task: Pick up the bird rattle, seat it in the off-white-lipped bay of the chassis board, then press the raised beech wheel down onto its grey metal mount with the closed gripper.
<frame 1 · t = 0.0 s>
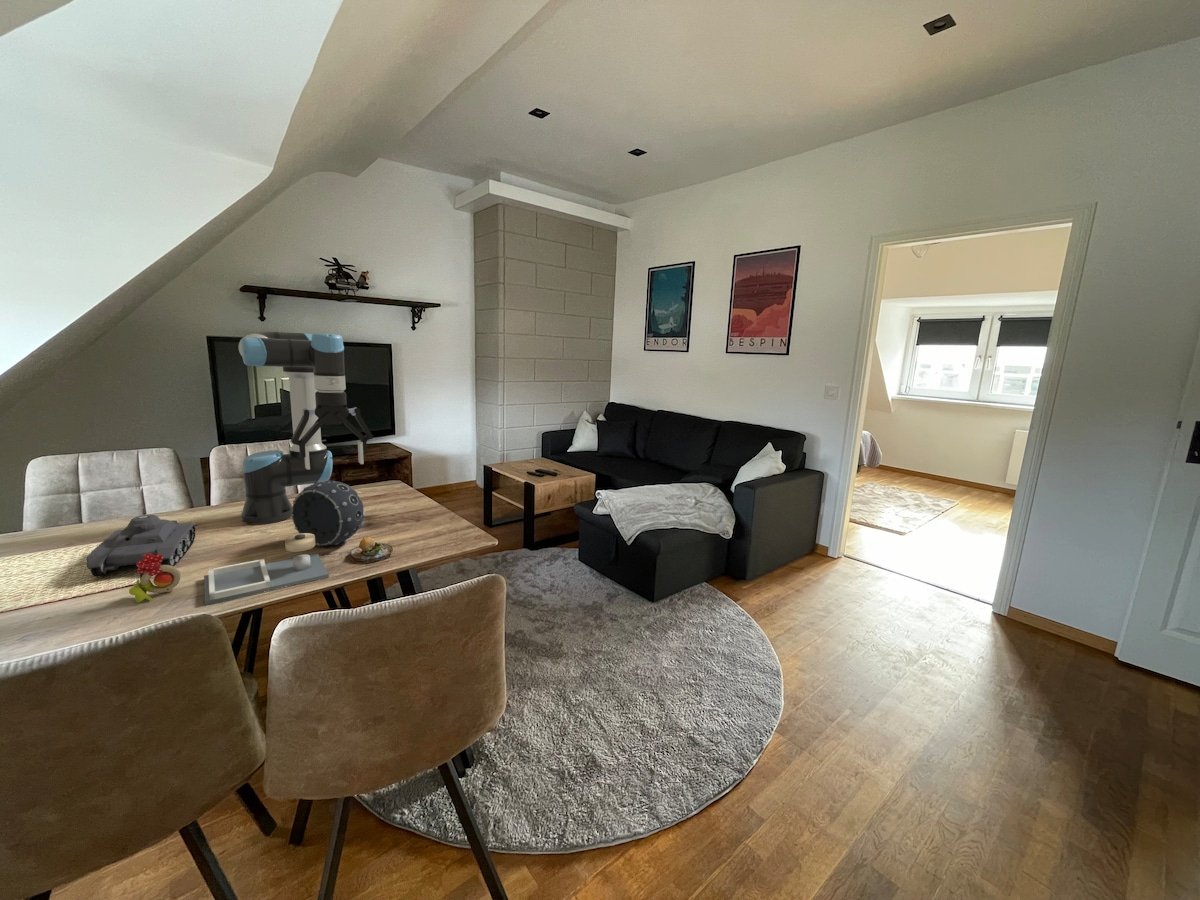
hand: (335, 465, 136), 28 cm above the table, fingers open, 13 cm apart
wheel: (300, 541, 131), point 9 cm above the table, slide at 3.0 cm
burger: (371, 556, 145), on the table
chassis board: (267, 578, 128), on the table
dotted grey bowl: (330, 543, 152), on the table
toy tank: (149, 560, 135), on the table
bird rattle: (157, 596, 117), on the table
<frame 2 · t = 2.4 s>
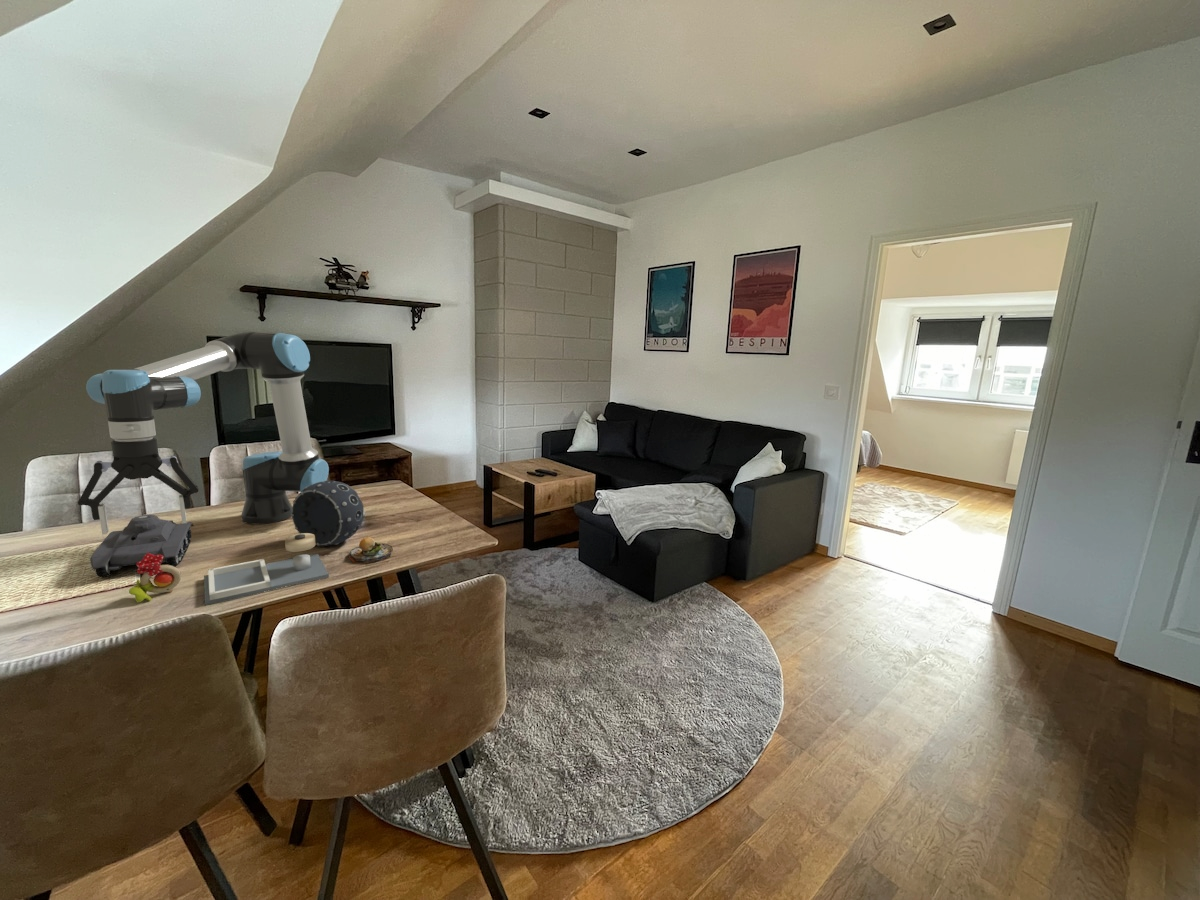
hand: (146, 527, 113), 18 cm above the table, fingers open, 13 cm apart
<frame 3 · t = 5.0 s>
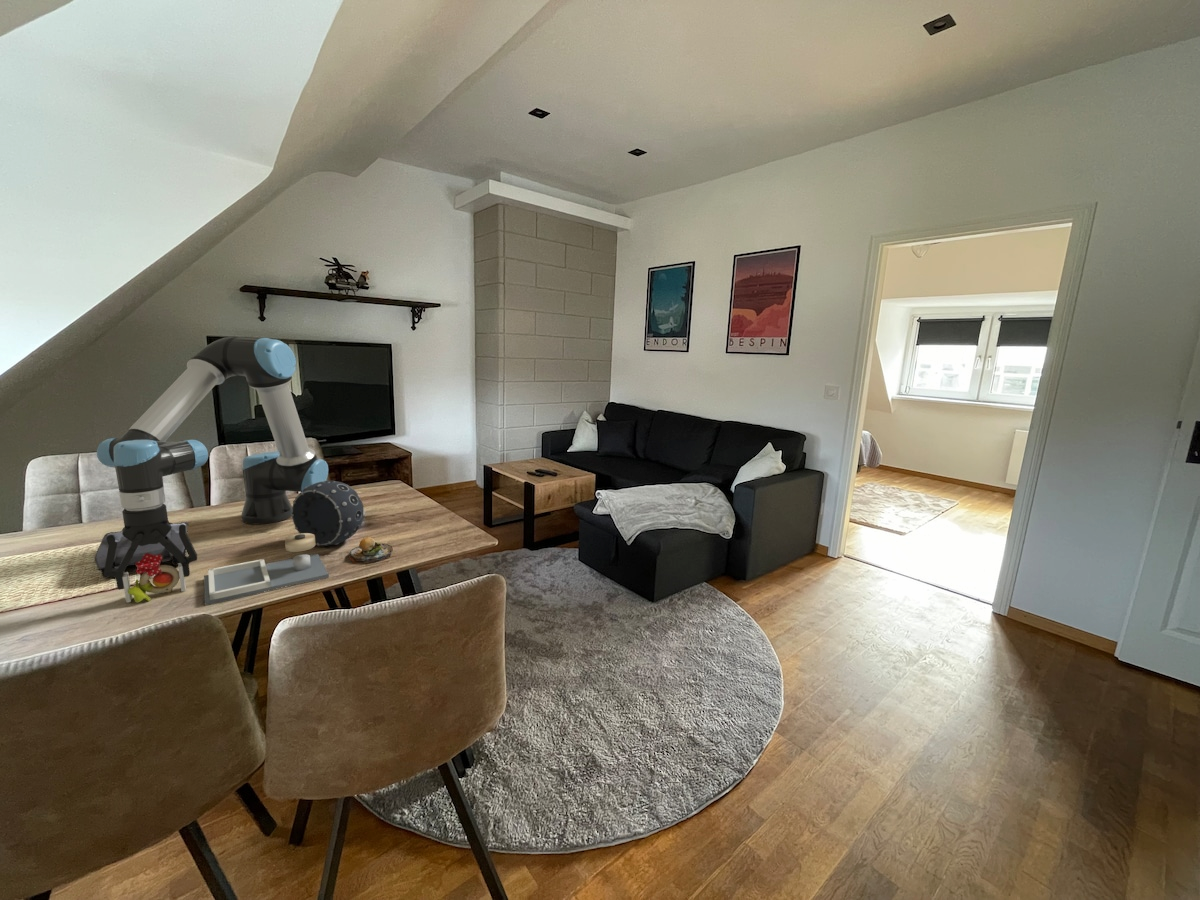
hand: (157, 594, 117), 0 cm above the table, fingers closed on bird rattle, 9 cm apart
bird rattle: (156, 596, 117), on the table, touching gripper
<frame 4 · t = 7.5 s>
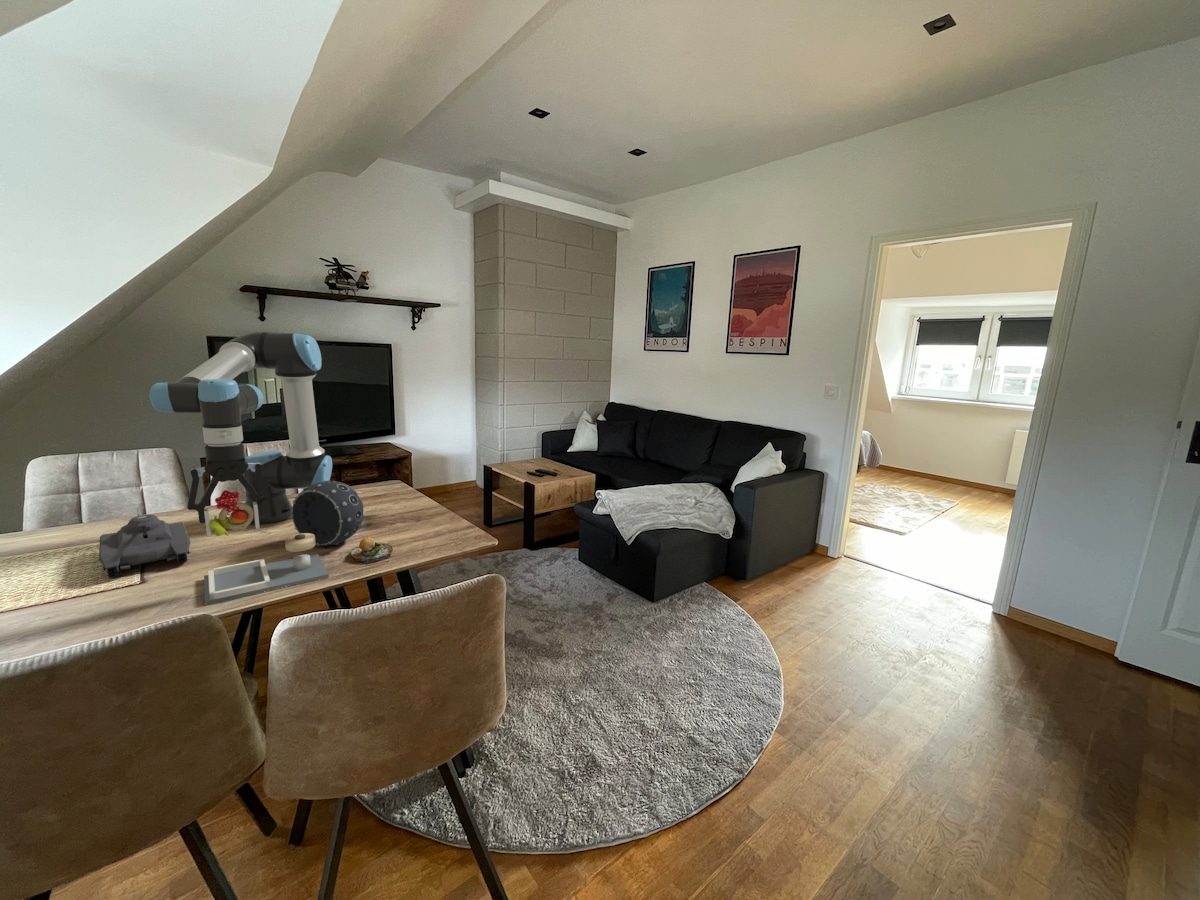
hand: (233, 530, 121), 15 cm above the table, fingers closed on bird rattle, 9 cm apart
bird rattle: (233, 532, 121), point 14 cm above the table, touching gripper
when the fingers open (3 cm above the table, at t = 10.3 s): bird rattle drops 2 cm, resting on chassis board.
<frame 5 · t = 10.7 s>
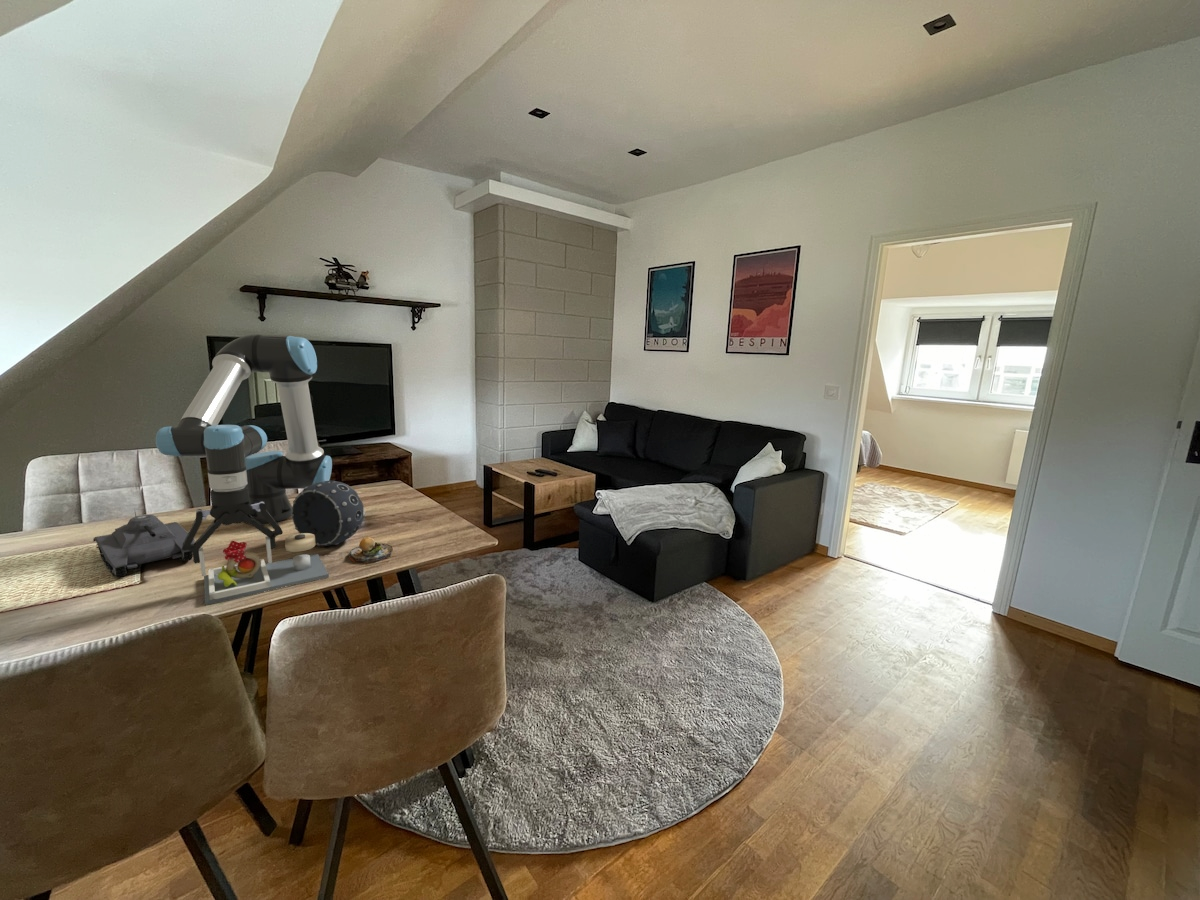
hand: (237, 567, 123), 5 cm above the table, fingers open, 13 cm apart
bird rattle: (240, 581, 124), point 1 cm above the table, touching chassis board
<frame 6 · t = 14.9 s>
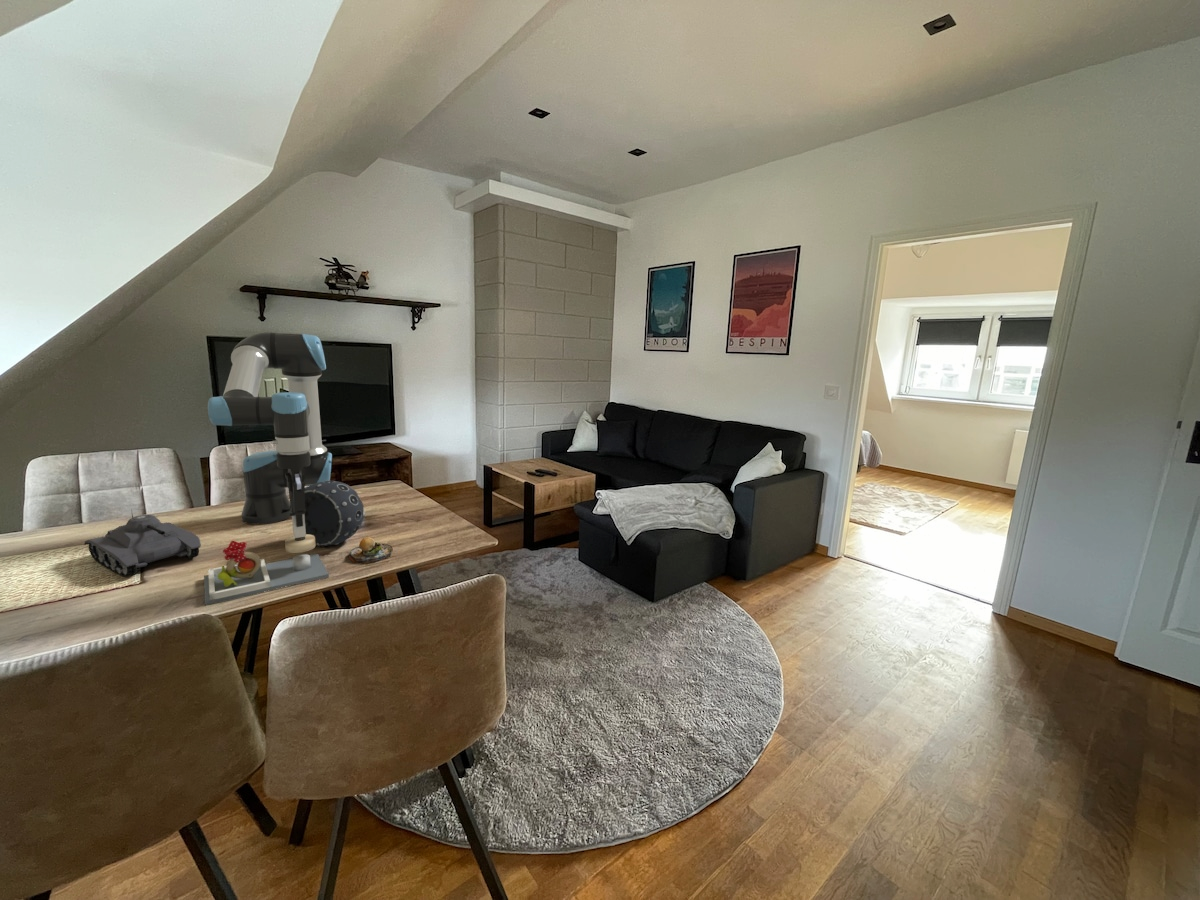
hand: (299, 536, 130), 10 cm above the table, fingers closed
wheel: (300, 542, 131), point 8 cm above the table, slide at 2.6 cm, touching gripper
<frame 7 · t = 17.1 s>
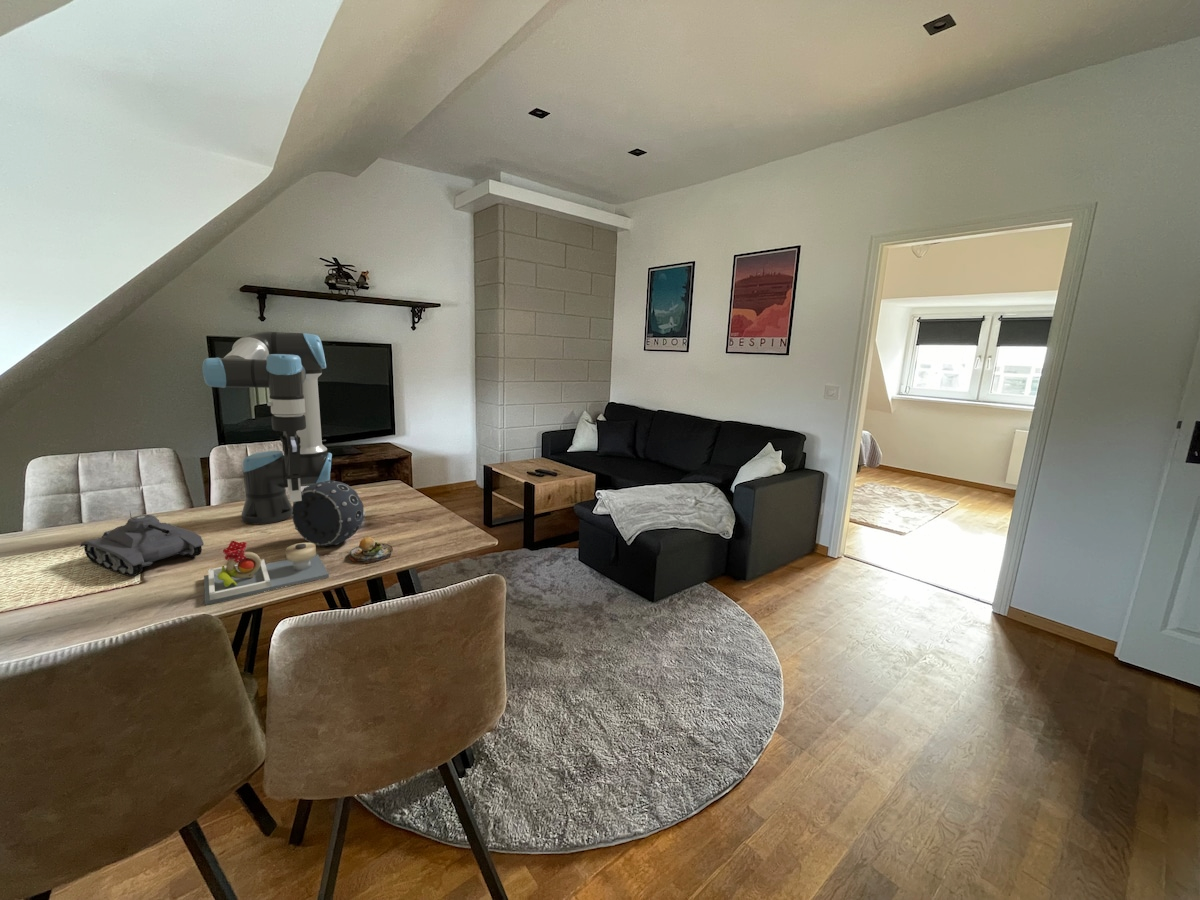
hand: (295, 500, 130), 20 cm above the table, fingers closed
wheel: (301, 550, 131), point 6 cm above the table, slide at 0.2 cm
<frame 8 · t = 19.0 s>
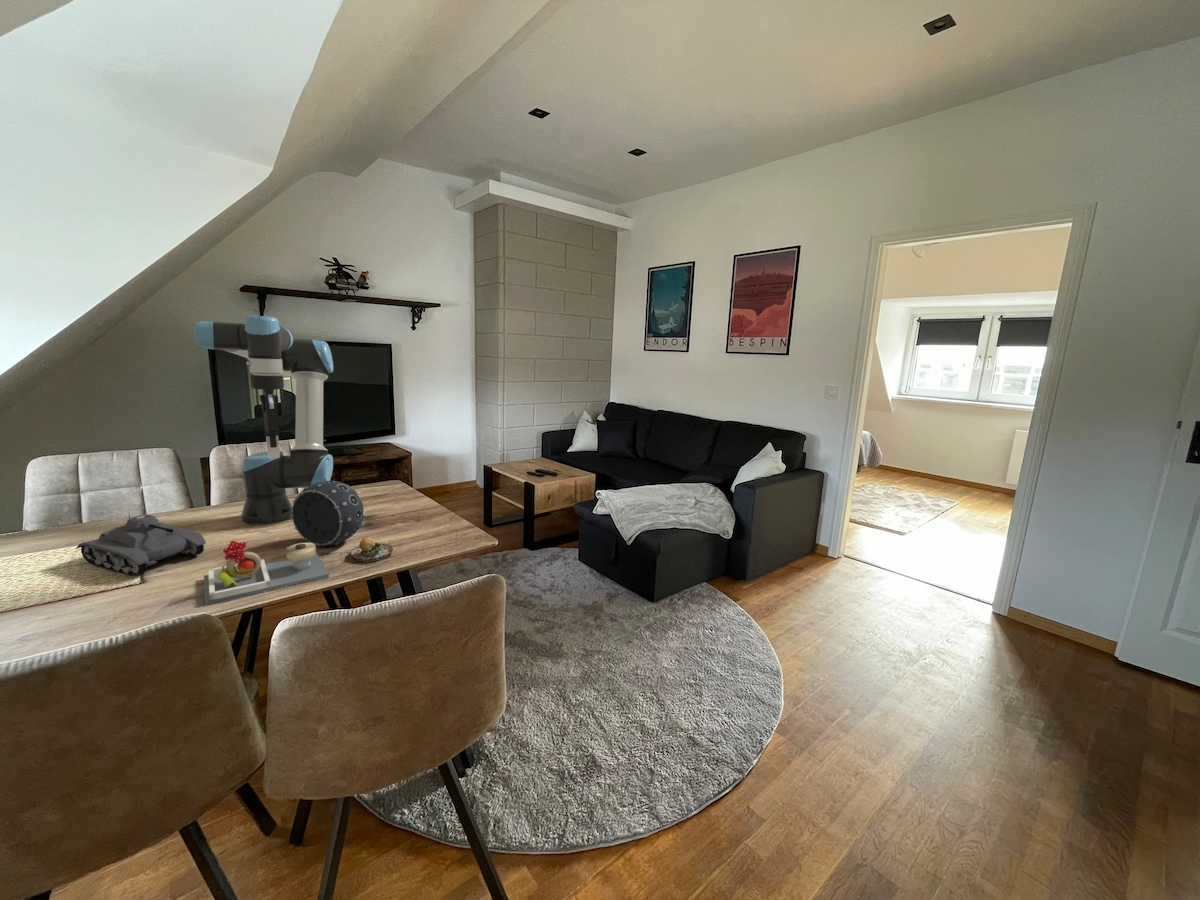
hand: (274, 457, 136), 29 cm above the table, fingers closed
at the end: bird rattle inside the target area (0.2 cm from its centre), point 0.8 cm above the table; wheel slide at 0.2 cm; the gripper is holding nothing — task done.
